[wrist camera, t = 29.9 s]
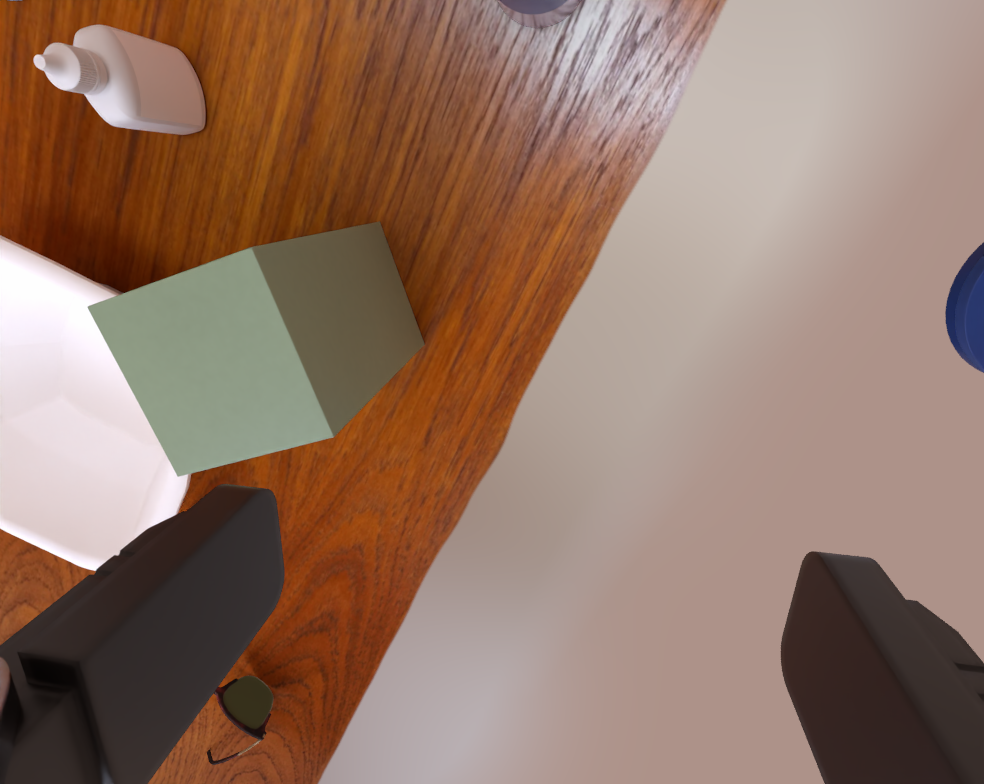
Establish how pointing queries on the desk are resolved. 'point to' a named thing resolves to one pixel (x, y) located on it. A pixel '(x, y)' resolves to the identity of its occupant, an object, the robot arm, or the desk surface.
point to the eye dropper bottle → (128, 80)
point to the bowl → (71, 421)
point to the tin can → (538, 11)
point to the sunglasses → (245, 708)
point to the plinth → (263, 345)
